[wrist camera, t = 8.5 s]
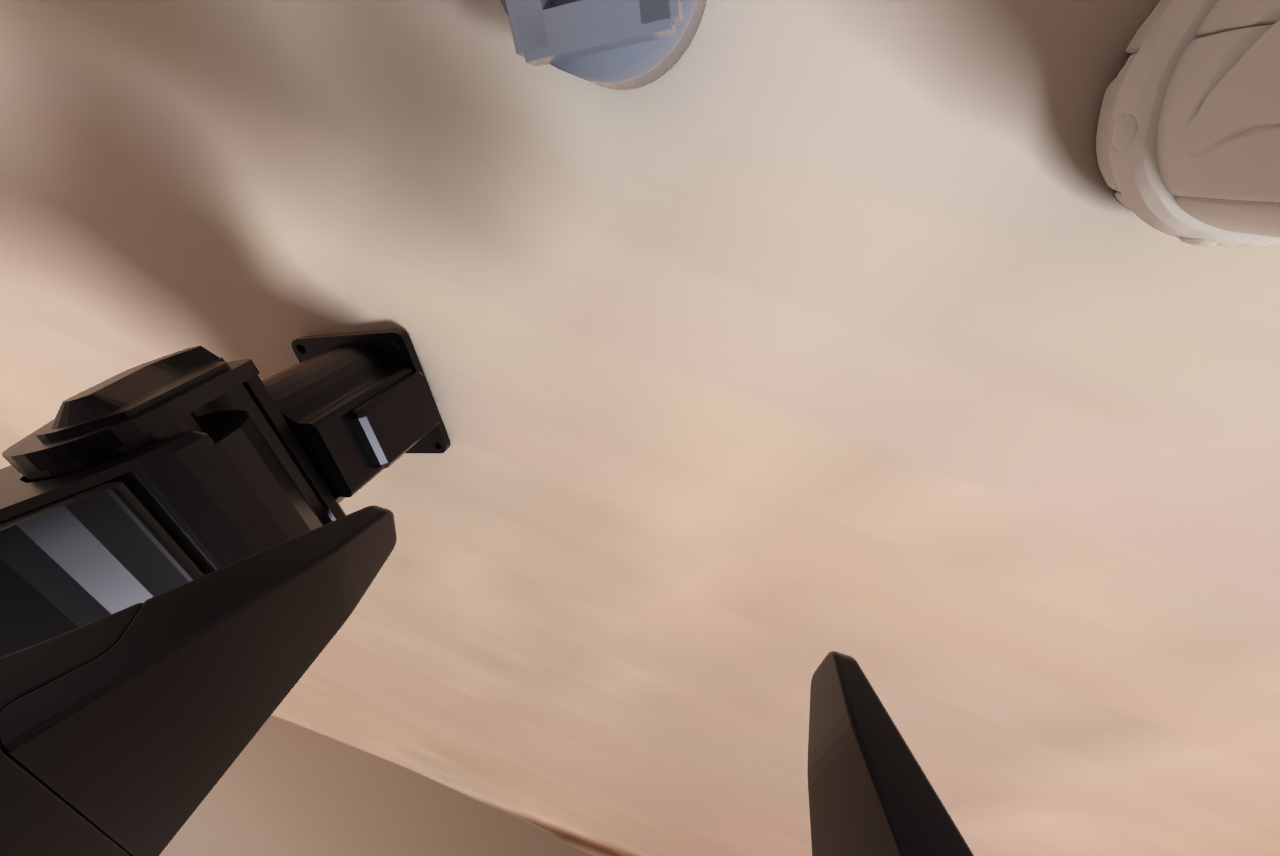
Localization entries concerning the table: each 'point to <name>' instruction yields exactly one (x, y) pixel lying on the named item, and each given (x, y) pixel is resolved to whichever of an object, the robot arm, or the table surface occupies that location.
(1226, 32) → the mug
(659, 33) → the cylinder with square socket
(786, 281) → the table surface
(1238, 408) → the table surface
